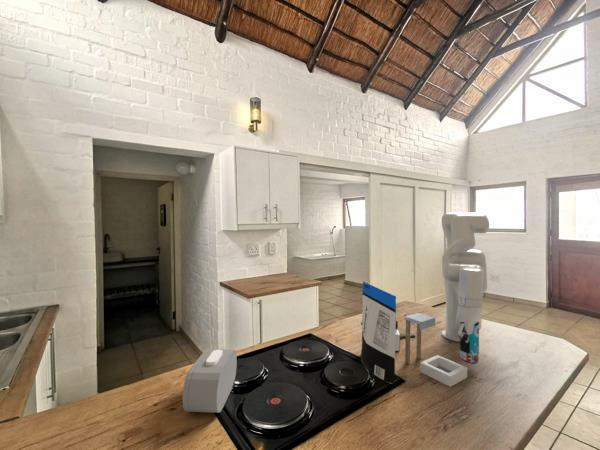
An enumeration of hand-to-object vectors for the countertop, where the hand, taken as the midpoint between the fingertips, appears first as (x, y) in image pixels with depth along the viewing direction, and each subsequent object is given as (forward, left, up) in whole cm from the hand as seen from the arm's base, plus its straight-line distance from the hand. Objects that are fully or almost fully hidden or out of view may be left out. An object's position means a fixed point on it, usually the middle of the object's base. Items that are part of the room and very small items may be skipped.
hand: (468, 349), depth 103 cm
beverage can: (-1, 0, -5) cm, 5 cm away
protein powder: (+28, -19, -8) cm, 35 cm away
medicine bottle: (+9, -28, -8) cm, 31 cm away
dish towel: (-6, -42, -9) cm, 44 cm away
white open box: (+11, -6, -8) cm, 15 cm away
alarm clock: (+85, -33, -8) cm, 92 cm away
